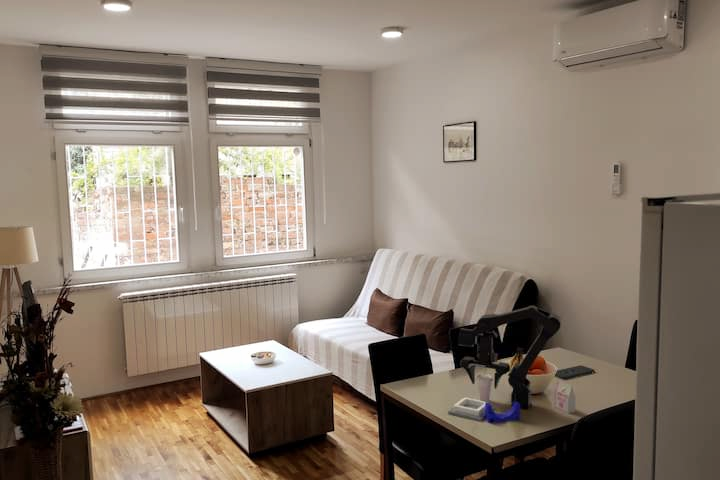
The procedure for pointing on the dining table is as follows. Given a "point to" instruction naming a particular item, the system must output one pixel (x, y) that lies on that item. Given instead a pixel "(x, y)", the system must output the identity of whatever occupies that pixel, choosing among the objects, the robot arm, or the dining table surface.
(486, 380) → the smoothie
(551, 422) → the dining table surface
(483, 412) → the socket plate
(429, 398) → the dining table surface
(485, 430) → the dining table surface
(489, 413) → the cable clip
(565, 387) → the milk carton
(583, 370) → the smart home device
